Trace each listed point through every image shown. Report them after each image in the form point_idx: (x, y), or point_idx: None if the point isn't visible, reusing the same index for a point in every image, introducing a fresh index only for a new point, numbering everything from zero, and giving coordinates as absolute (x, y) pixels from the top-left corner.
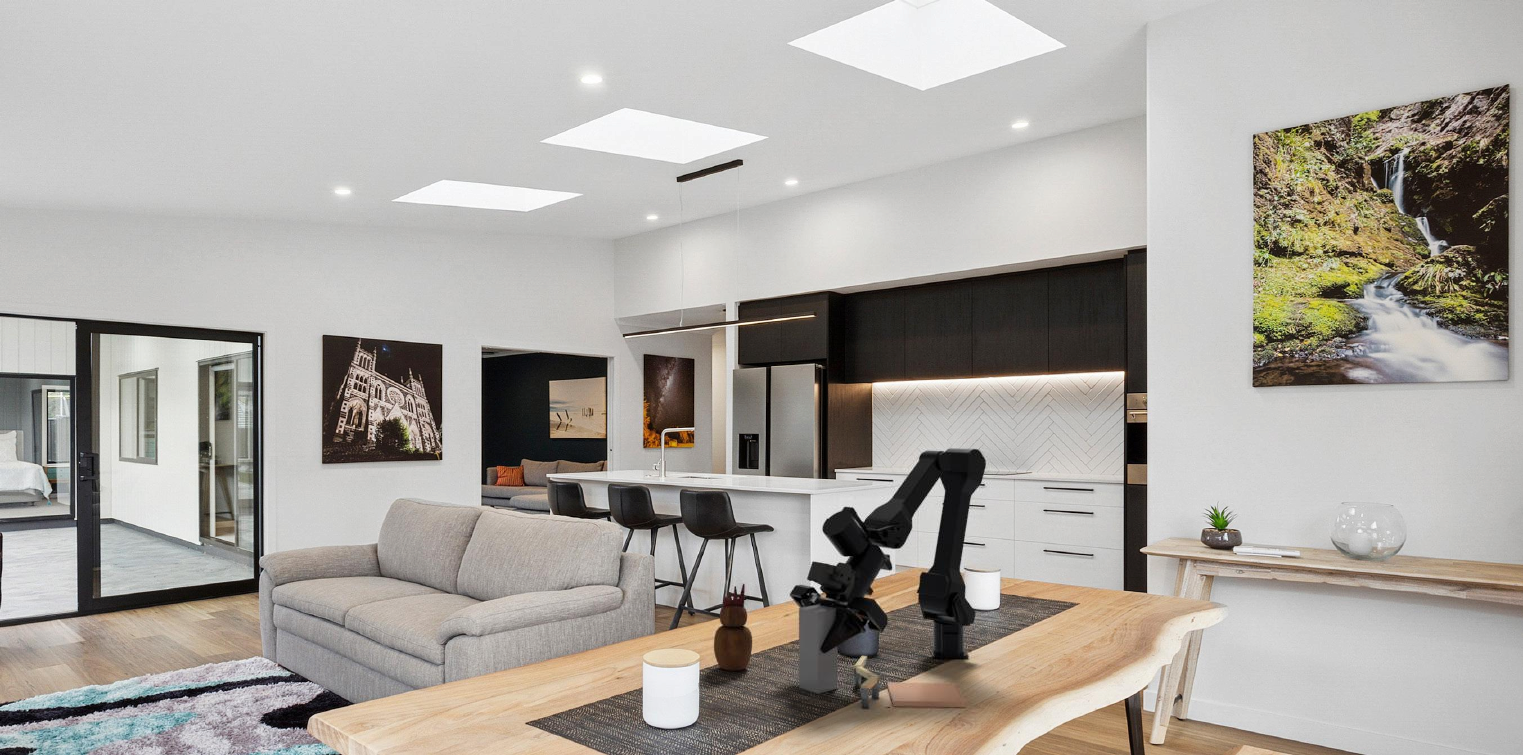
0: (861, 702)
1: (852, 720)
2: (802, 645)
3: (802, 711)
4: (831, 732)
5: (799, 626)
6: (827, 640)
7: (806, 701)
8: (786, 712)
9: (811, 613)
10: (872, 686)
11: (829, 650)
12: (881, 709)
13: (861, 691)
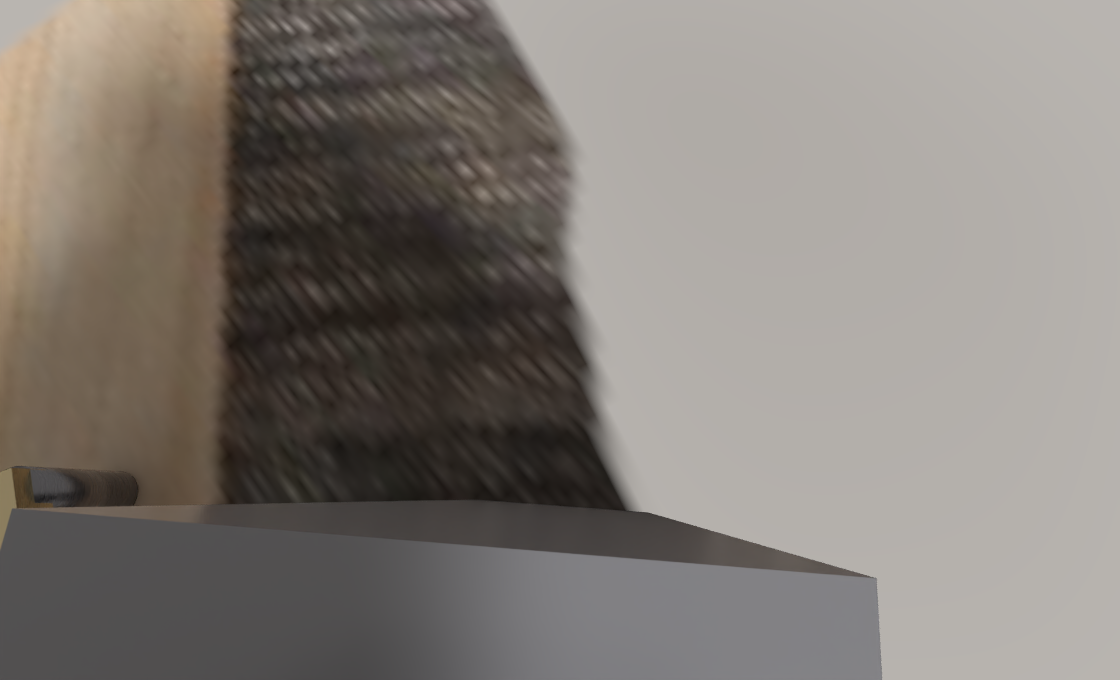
0: (102, 472)
1: (74, 291)
2: (630, 520)
3: (342, 216)
4: (75, 114)
5: (722, 536)
6: None
7: (431, 345)
8: (391, 153)
9: (306, 523)
10: None
11: None
12: None
13: (42, 467)
